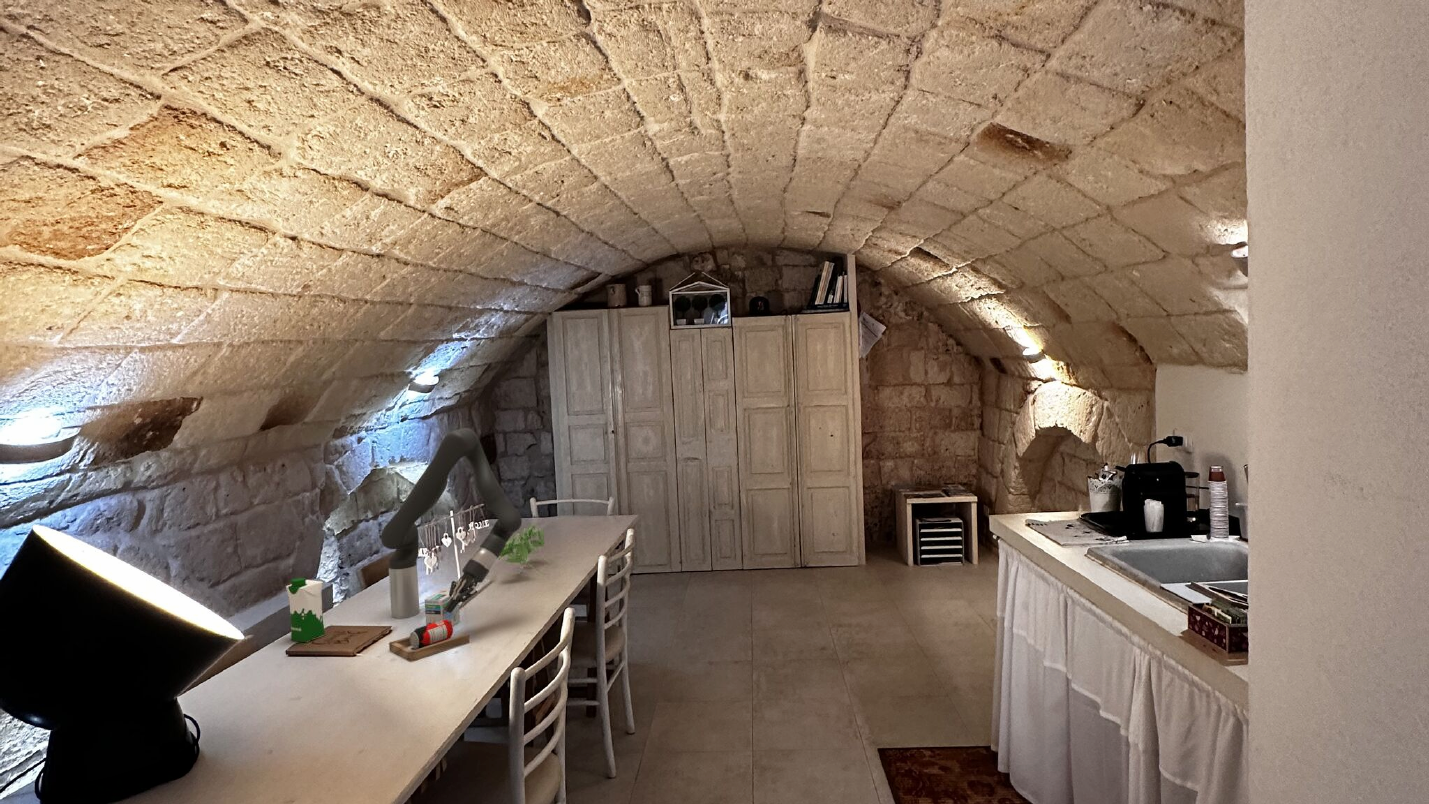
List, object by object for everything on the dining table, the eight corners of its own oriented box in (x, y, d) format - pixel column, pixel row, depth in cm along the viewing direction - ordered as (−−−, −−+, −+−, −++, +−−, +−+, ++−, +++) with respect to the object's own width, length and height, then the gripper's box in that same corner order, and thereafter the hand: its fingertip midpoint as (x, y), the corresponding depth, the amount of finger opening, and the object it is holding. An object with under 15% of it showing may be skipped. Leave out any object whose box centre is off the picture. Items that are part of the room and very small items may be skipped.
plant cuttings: (552, 577, 334) (511, 547, 335) (574, 546, 332) (533, 516, 333) (526, 603, 299) (481, 570, 300) (551, 568, 297) (504, 535, 298)
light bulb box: (444, 632, 250) (442, 600, 249) (425, 631, 251) (423, 599, 251) (461, 621, 260) (459, 590, 260) (443, 620, 262) (441, 589, 261)
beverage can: (444, 615, 245) (409, 626, 236) (455, 623, 242) (419, 635, 232) (443, 633, 247) (408, 645, 238) (454, 641, 243) (418, 654, 234)
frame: (389, 650, 235) (389, 642, 235) (447, 632, 249) (446, 625, 249) (410, 661, 226) (410, 653, 226) (469, 642, 240) (469, 634, 240)
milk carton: (286, 641, 247) (282, 580, 246) (311, 631, 255) (307, 572, 254) (305, 644, 243) (300, 582, 242) (329, 634, 251) (326, 574, 250)
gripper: (461, 555, 252) (428, 601, 244) (483, 561, 243) (449, 609, 235) (477, 567, 257) (445, 613, 248) (498, 574, 248) (466, 621, 239)
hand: (447, 611), depth 242 cm, fingers closed
